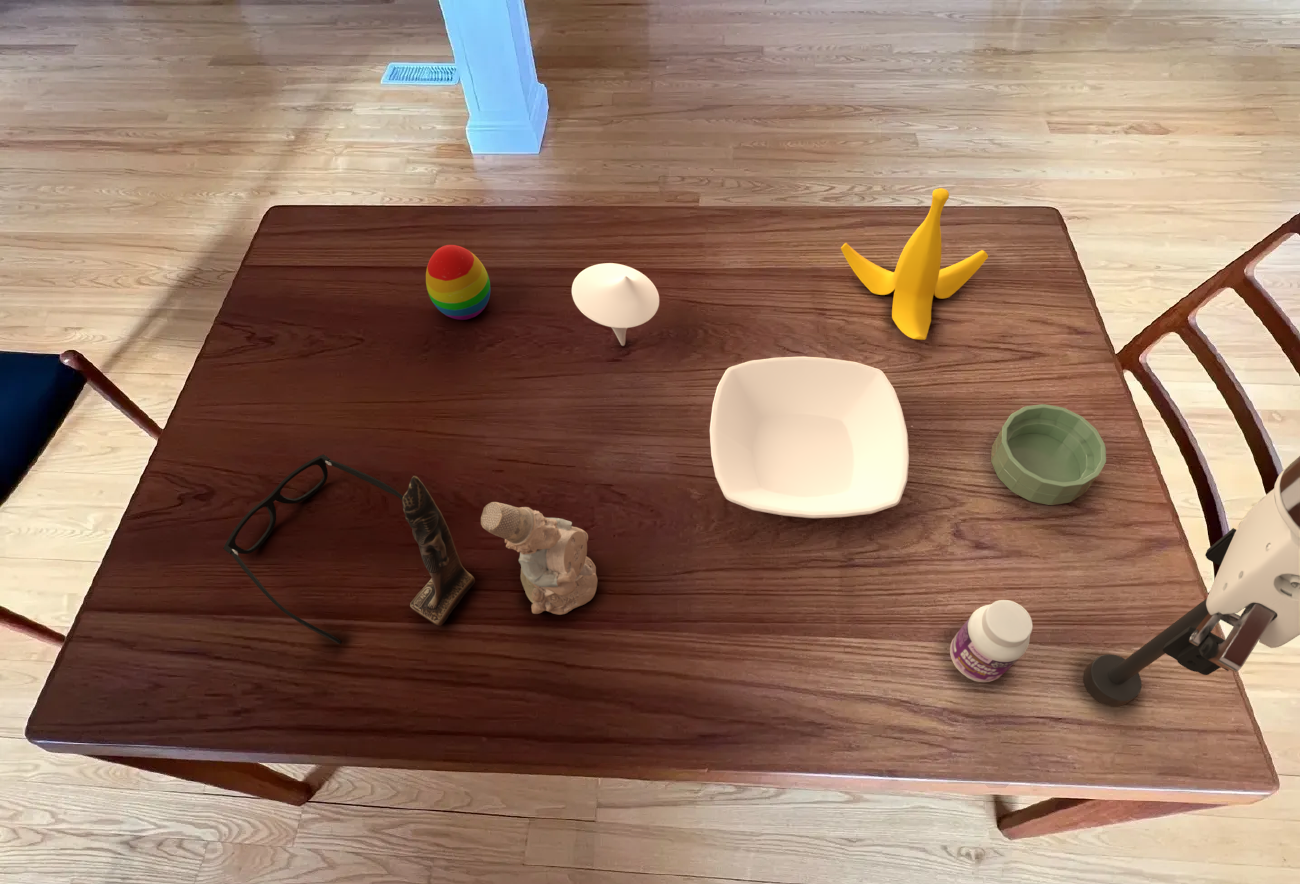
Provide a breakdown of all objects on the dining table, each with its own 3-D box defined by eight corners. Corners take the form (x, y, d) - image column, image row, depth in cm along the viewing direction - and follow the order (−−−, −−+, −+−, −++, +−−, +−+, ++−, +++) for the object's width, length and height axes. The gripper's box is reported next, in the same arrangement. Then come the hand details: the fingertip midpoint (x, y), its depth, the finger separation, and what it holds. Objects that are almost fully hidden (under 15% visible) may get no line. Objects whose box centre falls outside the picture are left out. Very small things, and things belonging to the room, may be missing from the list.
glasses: (339, 465, 95) (321, 440, 91) (444, 533, 88) (430, 510, 84) (229, 570, 88) (205, 549, 84) (334, 653, 81) (313, 635, 77)
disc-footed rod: (1139, 679, 76) (1278, 584, 57) (1122, 716, 74) (1260, 630, 56) (1093, 652, 77) (1214, 551, 59) (1075, 688, 75) (1194, 595, 57)
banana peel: (837, 260, 109) (857, 156, 96) (980, 268, 107) (1021, 162, 93) (836, 351, 100) (858, 250, 86) (992, 361, 98) (1040, 260, 84)
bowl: (909, 543, 85) (920, 519, 80) (707, 536, 86) (707, 513, 82) (888, 384, 97) (897, 356, 92) (711, 381, 99) (711, 354, 94)
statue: (411, 611, 83) (339, 520, 67) (453, 558, 87) (395, 459, 70) (441, 630, 82) (376, 542, 65) (483, 575, 85) (431, 478, 69)
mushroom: (658, 310, 106) (654, 241, 96) (665, 373, 100) (661, 306, 90) (581, 317, 106) (569, 249, 96) (583, 380, 100) (570, 314, 90)
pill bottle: (946, 675, 77) (974, 640, 69) (951, 624, 79) (979, 585, 71) (1004, 691, 76) (1040, 657, 68) (1007, 639, 78) (1042, 600, 70)
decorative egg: (502, 286, 110) (486, 230, 102) (486, 330, 105) (468, 274, 97) (446, 282, 111) (425, 226, 103) (428, 325, 107) (405, 270, 98)
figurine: (509, 616, 82) (461, 525, 66) (529, 544, 87) (489, 442, 71) (592, 628, 81) (564, 539, 65) (608, 554, 86) (586, 453, 69)
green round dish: (1103, 457, 89) (1121, 434, 86) (1066, 524, 85) (1083, 503, 81) (1013, 413, 93) (1026, 389, 90) (973, 474, 89) (985, 452, 85)
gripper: (1399, 652, 42) (1221, 734, 56) (1462, 433, 49) (1290, 555, 63) (1246, 573, 44) (1114, 670, 59) (1327, 377, 52) (1191, 506, 66)
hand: (1205, 611), depth 61 cm, fingers open, 9 cm apart
